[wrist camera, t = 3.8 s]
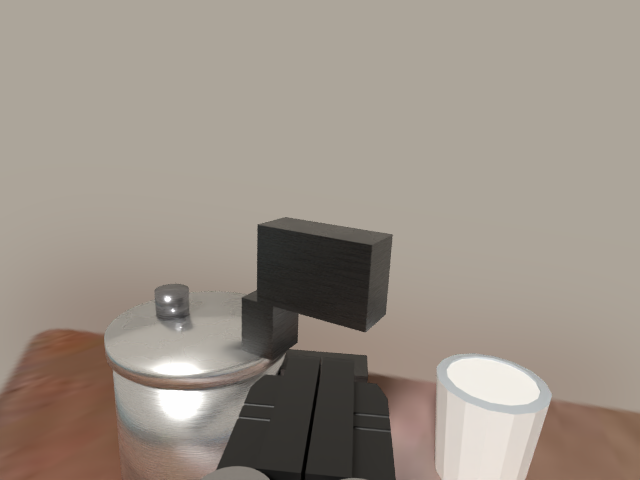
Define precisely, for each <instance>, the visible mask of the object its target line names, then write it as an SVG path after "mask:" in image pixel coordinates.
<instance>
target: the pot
mask: <svg viewBox="0 0 640 480" xmlns="http://www.w3.org/2000/svg"><path fill="white" fill-rule="evenodd" d="M290 355H303V356H316V357H321V370H322V364H323V358H324V357H329V358H341V359H354V360H355V365H354V382H362V383H367V381H368V369H367V356H366V355H353V354H341V353H328V352H316V351H304V350H291V349H288V350H287V352H286V355H285V354H284V356H283V357H282V358H281V359H280V360H279V361H278V362H276V363H275V364H274V365H272V366H271V367H269V368H268V369H266V370H264V371H262V372H260V373H258V374H256V375H254V376H251V377H249V378H246V379H244V380H240V381H237V382H234V383H230V384H225V385H220V386H215V387H208V388H198V389H167V388H157V387H151V386H146V385H142V384H139V383H135V382H133V381H130V380H128V379H126V378H124V377H122V376H120V375H119V374H117V373H116V372H115V371H114V370H113V377H114V389H115V401H116V413H117V425H118V438H119V450H120V462H121V474H122V480H200V479H201V478H203V477H204V476H206V475H207V474H209V473H211V472H213V471H215V470H216V469H217V466H218V464H219V462H220V459H221V457H222V454H223V452H224V450H225V447H226V445H227V442H228V440H229V438H230V435H231V433H232V430H233V428H234V426H235V423H236V421H237V419H238V418H239V414H240V411H241V409H242V406H244V402H245V399H246V397H247V395H248V392H249V390H250V387H251V386H252V385H253V384H255V383H256V382H257V381H258V380H259V379H260V378H262V377H263V376H264V375H265V374H267V375H278V376H284V372H285V369H286V366H287V362H288V359H289V356H290Z"/></svg>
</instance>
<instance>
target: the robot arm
mask: <svg viewBox="0 0 640 480" xmlns="http://www.w3.org/2000/svg"><path fill="white" fill-rule="evenodd" d="M354 365H355V360H354V359H341V358H329V357H324V358H323V364H322V370H321V357H316V356H303V355H290V356H289V359H288V362H287V366H286V369H285V372H284V376H278V375H267V374H265V375H264V376H263V377H262V378H260V379H259V380H258V381H257V382H256V383H255V384H253V385H252V386H251V387H250V390H249V392H248V395H247V397H246V399H245V402H244V406H242V409H241V411H240V414H239V418H238V419H237V421H236V423H235V426H234V428H233V430H232V433H231V435H230V438H229V440H228V442H227V445H226V447H225V450H224V452H223V454H222V457H221V459H220V462H219V464H218V466H217V469H216V470H215V471H213V472H211V473H209V474H207V475H206V476H204V477H203V478H201V479H200V480H396V478H395V468H394V458H393V448H392V438H391V428H390V419H389V408H388V399H387V397H386V396H385V394H384V393H383V392H382V390H381V389H380V388H379V386H378V385H377V384H373V383H362V382H354Z"/></svg>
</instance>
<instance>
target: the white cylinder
mask: <svg viewBox="0 0 640 480" xmlns="http://www.w3.org/2000/svg"><path fill="white" fill-rule="evenodd" d="M436 377H437V378H436V424H435V467H436V471H437V473H438V474H439V476H440V478H441V479H442V480H525V479H526V475H527V472H528V469H529V466H530V463H531V460H532V457H533V454H534V451H535V447H536V444H537V441H538V438H539V435H540V432H541V429H542V426H543V422H544V419H545V416H546V413H547V410H548V407H549V404H550V400H551V397H552V394H551V392H550V390H549V388H548V386H547V384H546V383H545V382H544V381H543V380H542V379H541V378H539V377H538V376H537V375H535V374H534V373H533V372H532V371H530V370H528V369H526V368H524V367H522V366H520V365H518V364H516V363H514V362H511V361H507V360H505V359H501V358H498V357H495V356H489V355H481V354H458V355H454V356H451V357H448V358H445V359H443V360H442V361H441V363H440V364H439V365H438V366H437V372H436Z"/></svg>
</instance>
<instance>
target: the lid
mask: <svg viewBox="0 0 640 480" xmlns="http://www.w3.org/2000/svg"><path fill="white" fill-rule="evenodd" d="M257 245H258V246H257V247H258V248H257V249H258V251H257V290H256V291H254V292H252V293H250V294H248V295H247V294H241V293H234V292H216V291H215V292H214V291H210V292H193V293H189V288H188V287H187V286H185V285H181V284H168V285H163V286H160V287H158V288H156V289H155V300H151V301H148V302H146V303H142V304H140V305H138V306H135V307H133V308H131V309H129V310H127V311H125V312H124V313H122V314H121V315H119V316H118V317H117V318H116V319H114V320H113V321H112V322H111V323H110V325H109V326H108V328H107V329H106V332H105V335H104V340H105V352H106V359H107V362H108V364H109V366H110V367H111V368H112V370H114V371H115V372H116V373H117V374H119V375H120V376H122V377H124V378H126V379H128V380H130V381H133V382H135V383H139V384H142V385H146V386H151V387H157V388H167V389H198V388H208V387H215V386H220V385H225V384H230V383H234V382H237V381H240V380H244V379H246V378H249V377H251V376H254V375H256V374H258V373H260V372H262V371H264V370H266V369H268V368H269V367H271V366H272V365H274V364H275V363H276V362H278V361H279V360H280V359H281V358H282V357H283V356H284V354H285V353H286V352H287V350H288V349H289V348H290V347H292V346H293V345H295V344H296V343H297V341H298V314H302V315H305V316H309V317H313V318H316V319H320V320H323V321H327V322H330V323H334V324H337V325H341V326H344V327H348V328H352V329H355V330H359V331H362V332H367V331H368V330H369V329H370V328H371V327H372V326H373V325H374V324H375V323H377V322H378V321H379V320H380V319H381V318H382V317H383V316H384V315H385V314H386V304H387V293H388V282H389V269H390V257H391V247H392V234H386V233H380V232H373V231H367V230H361V229H355V228H349V227H343V226H337V225H330V224H324V223H318V222H311V221H306V220H300V219H293V218H287V217H285V218H281V219H277V220H274V221H270V222H266V223H262V224H258V244H257Z"/></svg>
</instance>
